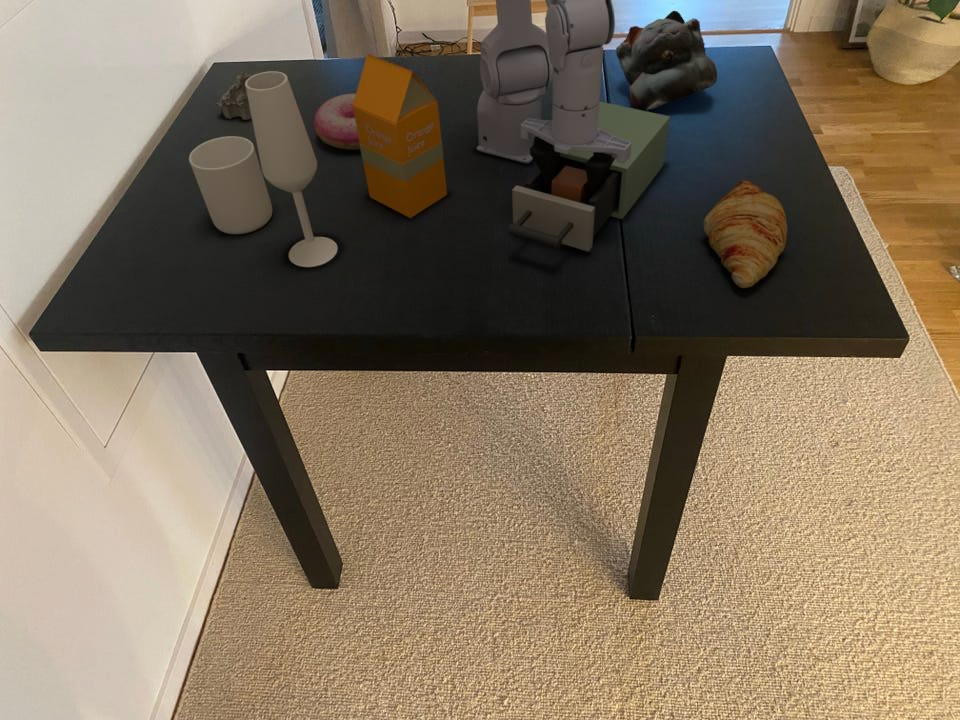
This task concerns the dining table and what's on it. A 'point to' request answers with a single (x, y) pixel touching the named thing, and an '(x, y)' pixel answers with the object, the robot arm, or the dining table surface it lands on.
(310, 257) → the champagne flute
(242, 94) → the grey rough lump
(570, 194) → the rust orange cube
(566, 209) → the cream drawer
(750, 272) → the croissant
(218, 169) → the mug
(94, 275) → the dining table surface
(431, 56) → the dining table surface
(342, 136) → the donut
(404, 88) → the orange juice
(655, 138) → the green drawer box
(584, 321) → the dining table surface
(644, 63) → the lucky cat figurine
